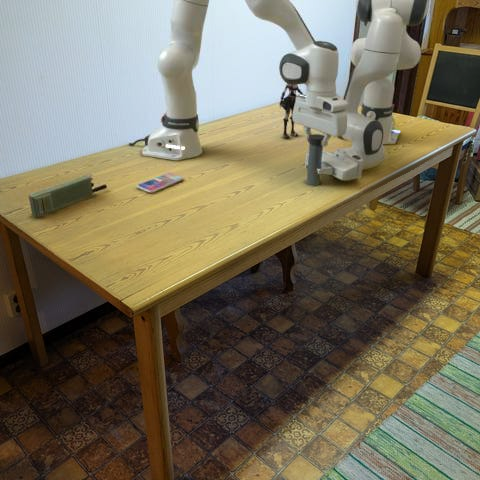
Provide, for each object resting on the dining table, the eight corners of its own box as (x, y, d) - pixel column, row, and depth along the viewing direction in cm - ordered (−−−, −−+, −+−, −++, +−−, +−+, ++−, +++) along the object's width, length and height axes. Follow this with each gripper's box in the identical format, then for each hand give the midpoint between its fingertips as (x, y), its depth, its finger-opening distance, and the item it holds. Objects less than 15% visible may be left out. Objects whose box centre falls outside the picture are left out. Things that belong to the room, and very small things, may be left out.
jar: (315, 179, 169) (319, 135, 162) (321, 184, 166) (326, 139, 158) (304, 181, 168) (307, 137, 161) (309, 186, 165) (313, 141, 157)
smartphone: (184, 177, 167) (150, 191, 157) (184, 180, 167) (151, 194, 157) (168, 171, 171) (134, 185, 161) (168, 174, 171) (135, 188, 161)
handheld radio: (30, 215, 144) (102, 188, 161) (37, 219, 142) (109, 191, 159) (26, 193, 140) (100, 168, 157) (33, 197, 138) (107, 171, 155)
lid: (306, 140, 162) (306, 134, 161) (321, 139, 163) (322, 133, 162) (310, 145, 158) (311, 139, 157) (326, 144, 158) (327, 138, 157)
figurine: (282, 141, 203) (286, 63, 188) (271, 138, 207) (274, 61, 192) (306, 134, 212) (311, 59, 197) (295, 130, 215) (300, 57, 201)
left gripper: (289, 93, 159) (286, 136, 166) (338, 107, 145) (333, 153, 152) (303, 91, 162) (300, 133, 169) (352, 104, 148) (347, 149, 155)
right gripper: (325, 143, 177) (293, 150, 170) (366, 161, 161) (333, 169, 155) (323, 160, 180) (292, 167, 173) (364, 179, 165) (331, 188, 158)
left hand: (316, 143), depth 160 cm, fingers closed on lid, 5 cm apart
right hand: (312, 168), depth 164 cm, fingers closed on jar, 4 cm apart
